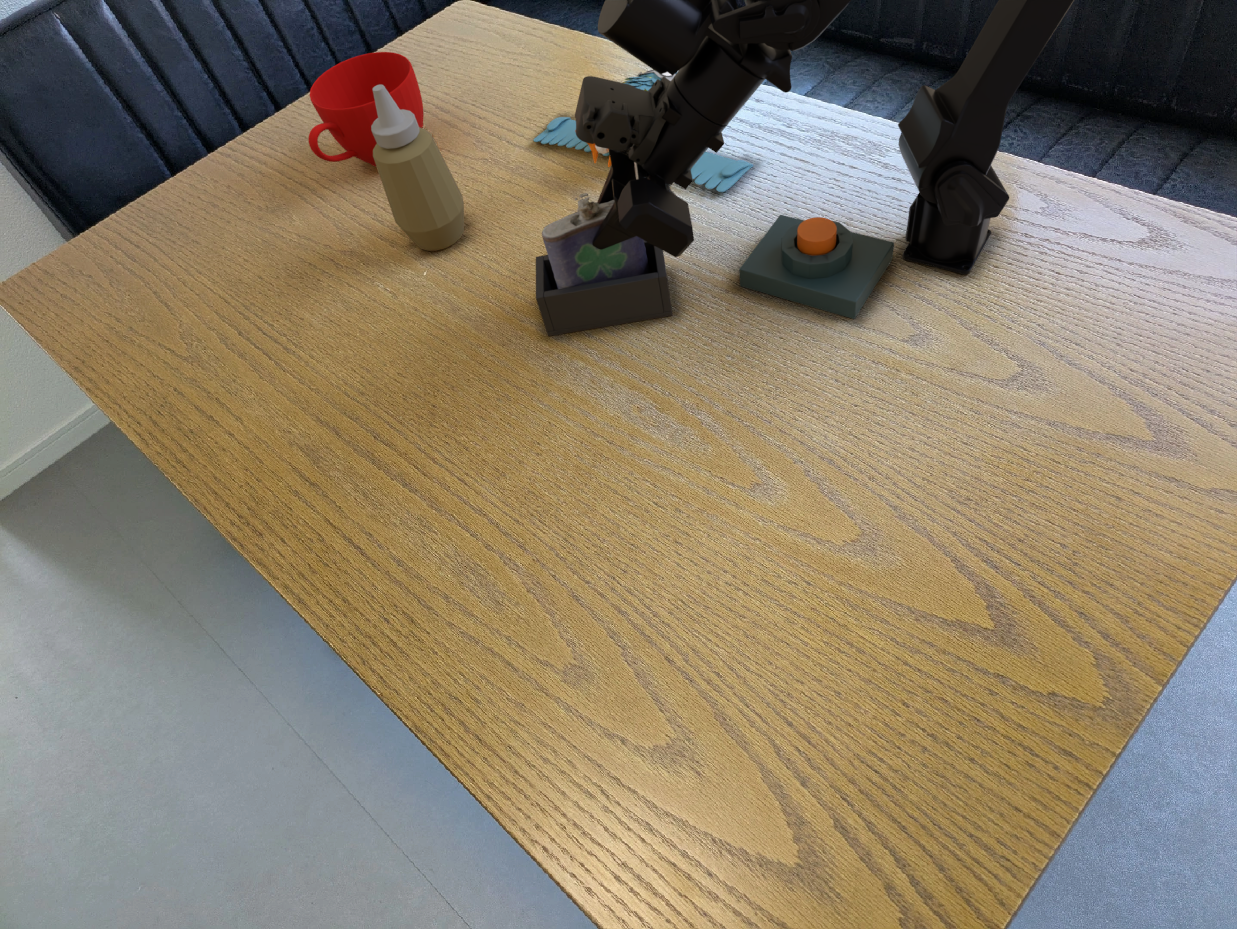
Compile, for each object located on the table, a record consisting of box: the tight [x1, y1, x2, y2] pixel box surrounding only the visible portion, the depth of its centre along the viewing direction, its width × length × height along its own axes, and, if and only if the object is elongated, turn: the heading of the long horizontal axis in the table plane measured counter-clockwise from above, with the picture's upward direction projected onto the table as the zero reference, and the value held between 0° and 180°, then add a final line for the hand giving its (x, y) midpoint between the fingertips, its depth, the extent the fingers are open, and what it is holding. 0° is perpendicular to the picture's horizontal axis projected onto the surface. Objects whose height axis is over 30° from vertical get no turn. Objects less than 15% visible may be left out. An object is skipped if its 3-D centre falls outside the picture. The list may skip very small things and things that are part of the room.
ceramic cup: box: [307, 51, 424, 168], centre depth 102 cm, size 13×17×10 cm
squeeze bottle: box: [371, 85, 465, 252], centre depth 87 cm, size 8×8×18 cm
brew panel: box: [738, 214, 895, 320], centre depth 79 cm, size 12×9×4 cm
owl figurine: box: [533, 68, 754, 193], centre depth 94 cm, size 28×9×15 cm
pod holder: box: [535, 240, 674, 337], centre depth 81 cm, size 13×6×5 cm, turn 94°
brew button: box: [797, 216, 837, 256], centre depth 77 cm, size 4×4×2 cm
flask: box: [541, 192, 649, 289], centre depth 77 cm, size 9×3×11 cm, turn 107°
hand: (595, 235), depth 76 cm, fingers closed on flask, 3 cm apart
